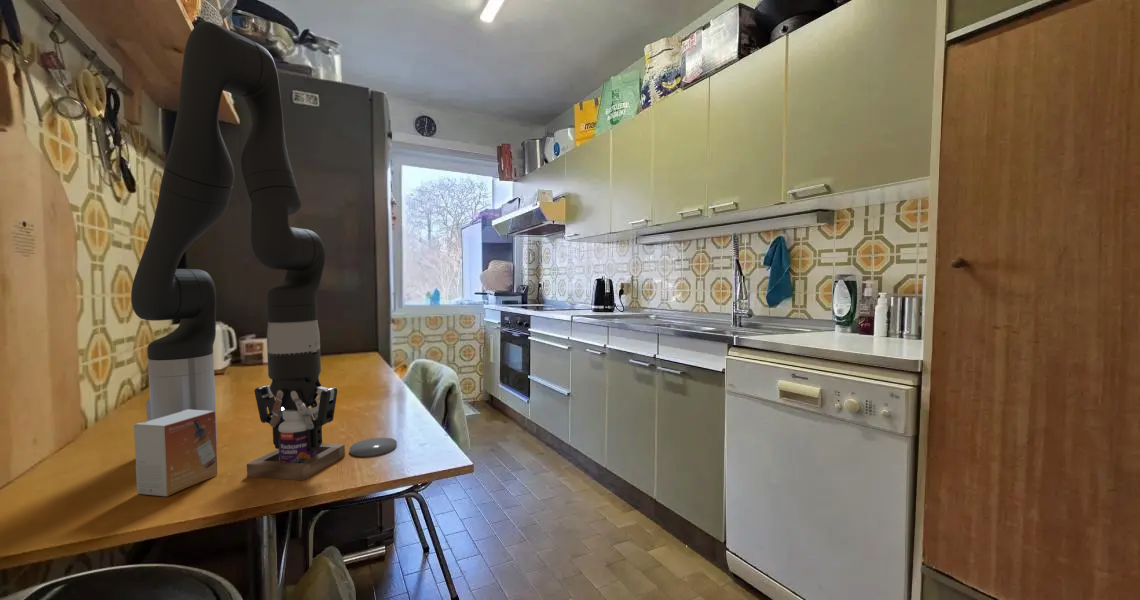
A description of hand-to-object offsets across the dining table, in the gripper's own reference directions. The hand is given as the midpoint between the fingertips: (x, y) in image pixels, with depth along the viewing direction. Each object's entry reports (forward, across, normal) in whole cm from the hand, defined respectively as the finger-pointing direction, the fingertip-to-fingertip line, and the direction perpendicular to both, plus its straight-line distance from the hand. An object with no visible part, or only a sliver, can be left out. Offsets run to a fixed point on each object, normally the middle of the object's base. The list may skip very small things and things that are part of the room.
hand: (298, 447), depth 77 cm
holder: (+3, 0, 0) cm, 3 cm away
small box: (+3, -13, -9) cm, 16 cm away
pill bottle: (+3, 0, 0) cm, 3 cm away
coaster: (+3, +8, +9) cm, 12 cm away
